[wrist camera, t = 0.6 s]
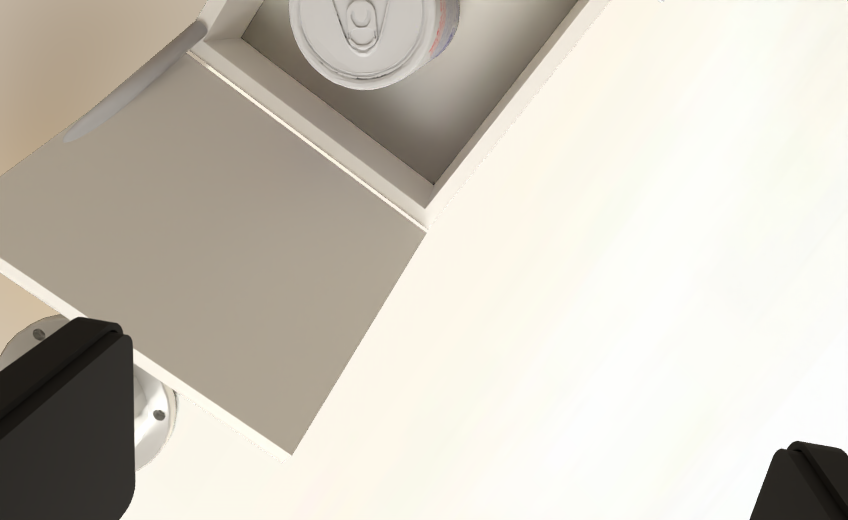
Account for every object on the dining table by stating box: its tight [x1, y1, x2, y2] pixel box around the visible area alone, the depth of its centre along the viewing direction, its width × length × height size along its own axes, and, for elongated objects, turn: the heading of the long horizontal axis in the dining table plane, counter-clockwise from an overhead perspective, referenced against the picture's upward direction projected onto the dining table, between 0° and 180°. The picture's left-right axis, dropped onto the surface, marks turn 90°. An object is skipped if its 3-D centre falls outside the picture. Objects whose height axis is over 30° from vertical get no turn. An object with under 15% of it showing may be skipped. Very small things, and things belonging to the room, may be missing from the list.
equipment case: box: [0, 0, 611, 463], centre depth 31 cm, size 24×16×18 cm, turn 143°
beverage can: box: [289, 0, 459, 90], centre depth 32 cm, size 6×6×15 cm
